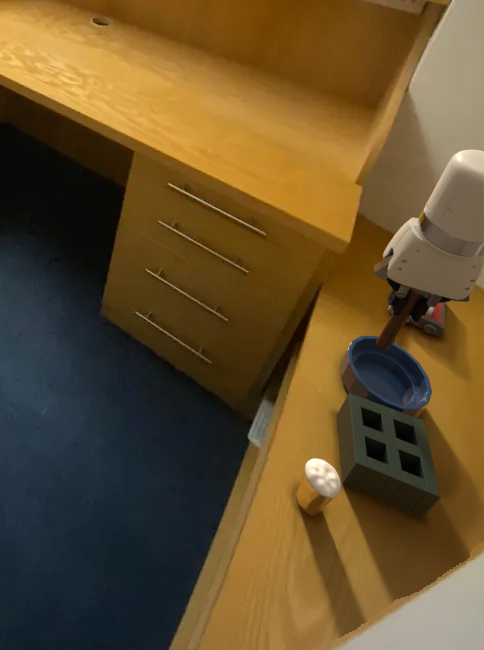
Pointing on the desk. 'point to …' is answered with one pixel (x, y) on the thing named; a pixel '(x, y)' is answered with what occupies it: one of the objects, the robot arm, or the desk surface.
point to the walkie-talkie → (430, 320)
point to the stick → (398, 320)
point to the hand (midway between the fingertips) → (403, 310)
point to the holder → (386, 455)
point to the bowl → (385, 376)
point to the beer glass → (317, 486)
